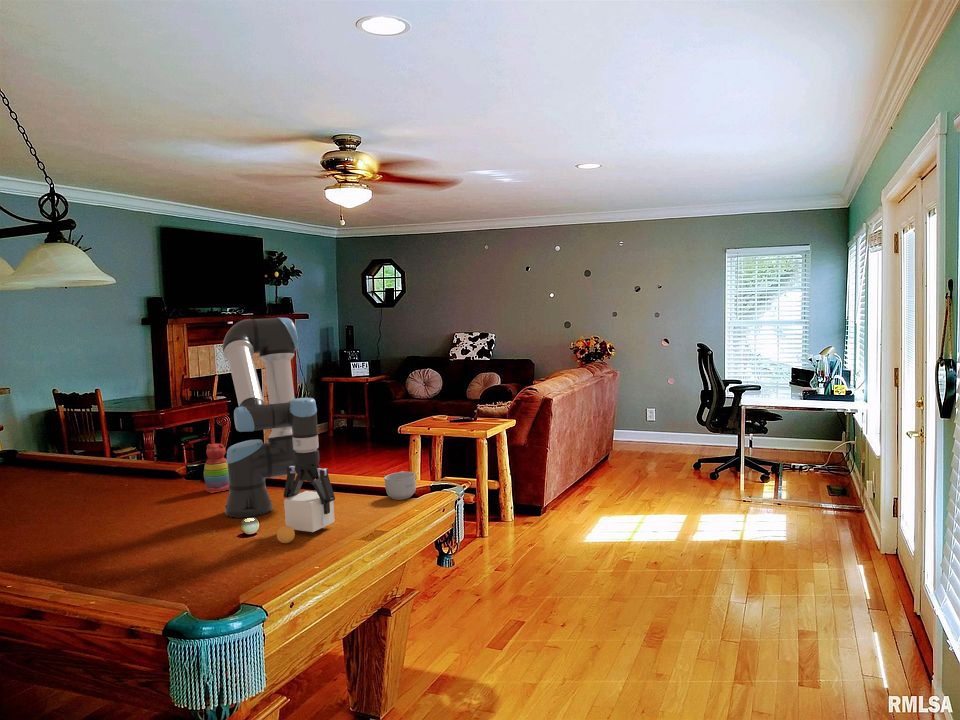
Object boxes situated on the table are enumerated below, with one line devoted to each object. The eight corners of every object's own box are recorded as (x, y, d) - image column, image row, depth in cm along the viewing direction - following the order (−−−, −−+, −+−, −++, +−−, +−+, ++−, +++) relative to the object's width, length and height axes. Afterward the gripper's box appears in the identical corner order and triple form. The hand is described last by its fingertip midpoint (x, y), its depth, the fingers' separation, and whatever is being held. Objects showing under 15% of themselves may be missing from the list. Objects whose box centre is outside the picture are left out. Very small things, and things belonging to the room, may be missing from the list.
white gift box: (285, 528, 220) (283, 499, 219) (308, 518, 229) (306, 490, 228) (313, 532, 215) (311, 502, 214) (334, 521, 224) (332, 493, 224)
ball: (279, 521, 213) (286, 532, 216) (270, 534, 209) (277, 546, 212) (293, 522, 211) (300, 533, 214) (285, 535, 207) (292, 547, 210)
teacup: (411, 502, 249) (410, 478, 248) (380, 501, 251) (379, 478, 251) (422, 491, 263) (421, 469, 262) (393, 490, 265) (392, 469, 264)
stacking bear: (239, 486, 281) (235, 440, 280) (224, 493, 271) (220, 446, 270) (213, 486, 284) (210, 440, 282) (198, 493, 274) (194, 446, 272)
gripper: (267, 450, 222) (272, 522, 224) (329, 454, 212) (333, 530, 214) (284, 445, 228) (289, 515, 230) (344, 449, 218) (349, 522, 220)
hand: (310, 522), depth 222 cm, fingers closed on white gift box, 10 cm apart
